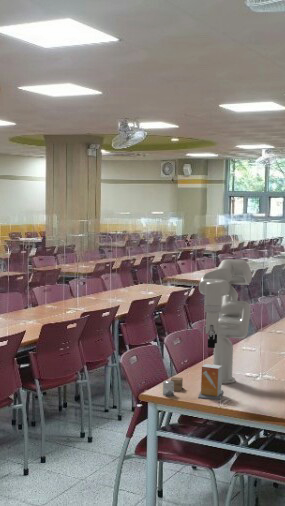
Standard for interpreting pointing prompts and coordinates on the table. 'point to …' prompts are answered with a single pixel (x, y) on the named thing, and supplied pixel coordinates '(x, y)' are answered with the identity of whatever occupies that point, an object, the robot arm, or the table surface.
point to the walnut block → (177, 383)
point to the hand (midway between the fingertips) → (212, 345)
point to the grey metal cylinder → (168, 388)
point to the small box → (211, 379)
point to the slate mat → (210, 396)
